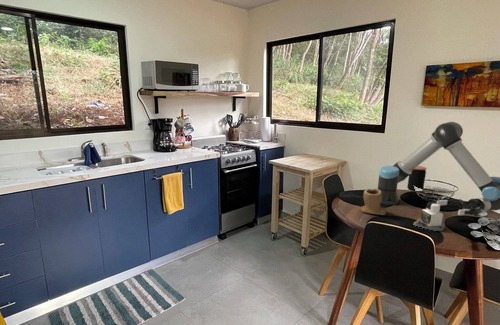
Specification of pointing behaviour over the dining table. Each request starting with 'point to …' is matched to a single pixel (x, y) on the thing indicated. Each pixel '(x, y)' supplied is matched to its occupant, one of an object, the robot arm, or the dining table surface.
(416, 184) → the coffee jar
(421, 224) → the d plate
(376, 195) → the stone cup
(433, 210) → the medicine bottle
